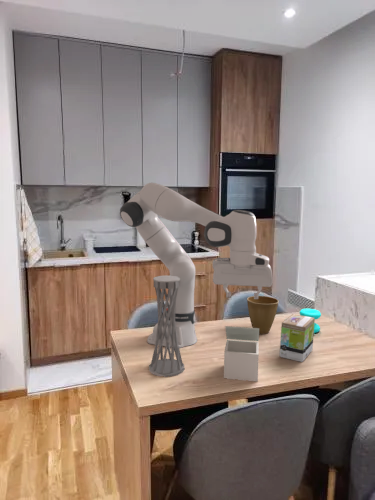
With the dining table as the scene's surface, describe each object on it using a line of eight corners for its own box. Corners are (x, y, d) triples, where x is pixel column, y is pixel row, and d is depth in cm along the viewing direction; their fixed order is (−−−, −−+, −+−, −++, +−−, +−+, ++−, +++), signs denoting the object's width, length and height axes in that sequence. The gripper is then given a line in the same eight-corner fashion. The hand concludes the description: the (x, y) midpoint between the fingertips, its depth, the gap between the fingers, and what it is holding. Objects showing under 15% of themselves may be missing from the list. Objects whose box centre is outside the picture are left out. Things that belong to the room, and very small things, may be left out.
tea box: (303, 362, 151) (305, 326, 149) (278, 357, 156) (280, 322, 154) (313, 350, 163) (315, 316, 161) (290, 345, 169) (291, 312, 167)
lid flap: (225, 327, 137) (225, 326, 138) (226, 338, 147) (226, 337, 148) (259, 329, 135) (259, 328, 136) (258, 341, 145) (258, 339, 146)
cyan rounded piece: (323, 309, 188) (318, 315, 179) (322, 329, 189) (317, 335, 181) (302, 306, 193) (297, 311, 184) (301, 325, 194) (296, 331, 186)
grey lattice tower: (149, 361, 151) (148, 274, 146) (183, 360, 152) (183, 274, 147) (148, 377, 138) (147, 282, 133) (185, 376, 139) (186, 282, 134)
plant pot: (259, 339, 176) (260, 305, 173) (240, 329, 188) (240, 297, 186) (284, 333, 183) (285, 301, 181) (263, 324, 196) (264, 294, 193)
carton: (223, 378, 137) (224, 351, 136) (226, 364, 149) (226, 339, 148) (257, 381, 135) (258, 354, 134) (257, 366, 147) (258, 341, 146)
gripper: (211, 258, 129) (210, 298, 131) (273, 260, 124) (272, 302, 126) (214, 255, 135) (213, 294, 137) (273, 257, 130) (272, 297, 132)
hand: (242, 297), depth 132 cm, fingers open, 8 cm apart
